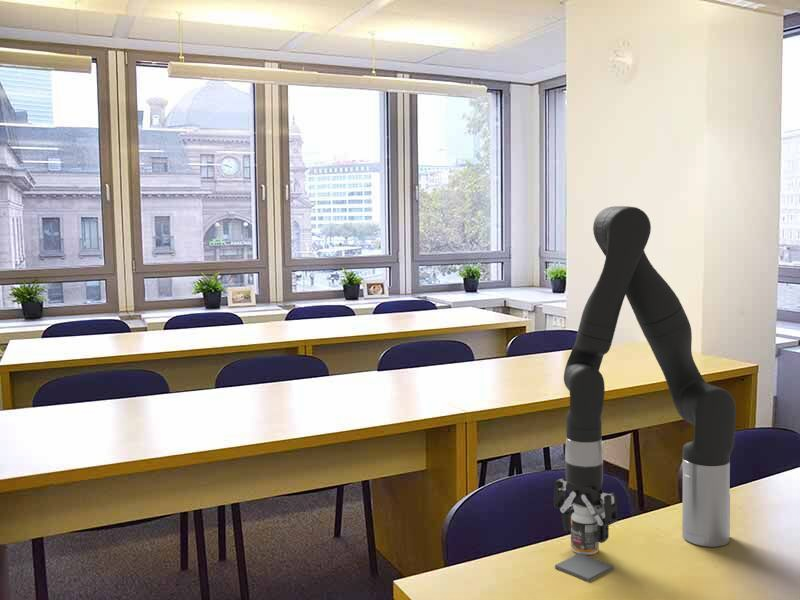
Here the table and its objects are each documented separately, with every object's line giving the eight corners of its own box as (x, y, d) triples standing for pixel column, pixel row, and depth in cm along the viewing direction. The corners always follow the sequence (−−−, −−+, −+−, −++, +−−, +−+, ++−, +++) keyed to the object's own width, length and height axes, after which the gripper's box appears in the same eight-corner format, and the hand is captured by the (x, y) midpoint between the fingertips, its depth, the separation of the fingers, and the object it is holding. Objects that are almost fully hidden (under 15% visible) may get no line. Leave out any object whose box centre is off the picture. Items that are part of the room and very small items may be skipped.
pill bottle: (565, 547, 156) (564, 501, 155) (587, 542, 158) (587, 497, 157) (582, 558, 151) (581, 510, 150) (604, 552, 153) (604, 505, 152)
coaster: (579, 555, 152) (579, 552, 152) (613, 568, 146) (613, 565, 146) (555, 567, 147) (554, 565, 147) (588, 581, 141) (588, 578, 141)
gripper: (624, 462, 150) (624, 540, 151) (567, 448, 161) (568, 521, 162) (602, 471, 145) (602, 551, 146) (545, 455, 156) (546, 530, 157)
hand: (584, 535), depth 154 cm, fingers open, 8 cm apart
